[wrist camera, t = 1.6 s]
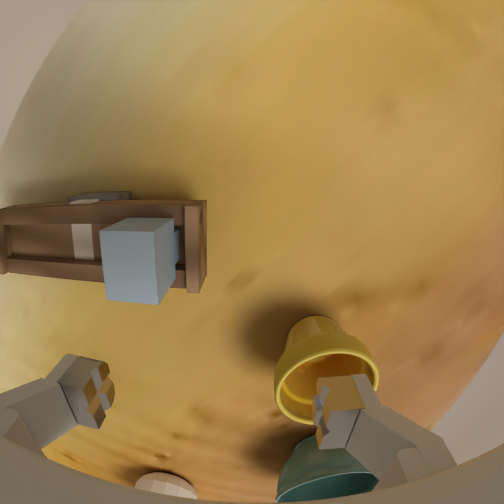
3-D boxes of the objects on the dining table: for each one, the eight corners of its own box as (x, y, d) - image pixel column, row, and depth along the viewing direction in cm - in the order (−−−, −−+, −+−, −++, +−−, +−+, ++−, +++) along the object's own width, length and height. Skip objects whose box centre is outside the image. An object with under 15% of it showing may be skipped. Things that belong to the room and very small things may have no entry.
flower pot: (339, 471, 44) (349, 514, 33) (260, 466, 43) (261, 515, 32) (383, 420, 39) (403, 468, 29) (293, 412, 38) (301, 471, 28)
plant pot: (280, 379, 36) (286, 435, 27) (261, 314, 34) (263, 366, 24) (356, 359, 36) (380, 409, 26) (348, 291, 33) (378, 335, 23)
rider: (134, 214, 24) (99, 230, 18) (178, 214, 24) (153, 231, 18) (138, 269, 26) (107, 299, 19) (180, 271, 26) (158, 304, 19)
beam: (33, 196, 30) (-11, 207, 22) (212, 191, 30) (197, 199, 22) (39, 256, 32) (-1, 278, 24) (212, 265, 32) (199, 298, 24)
